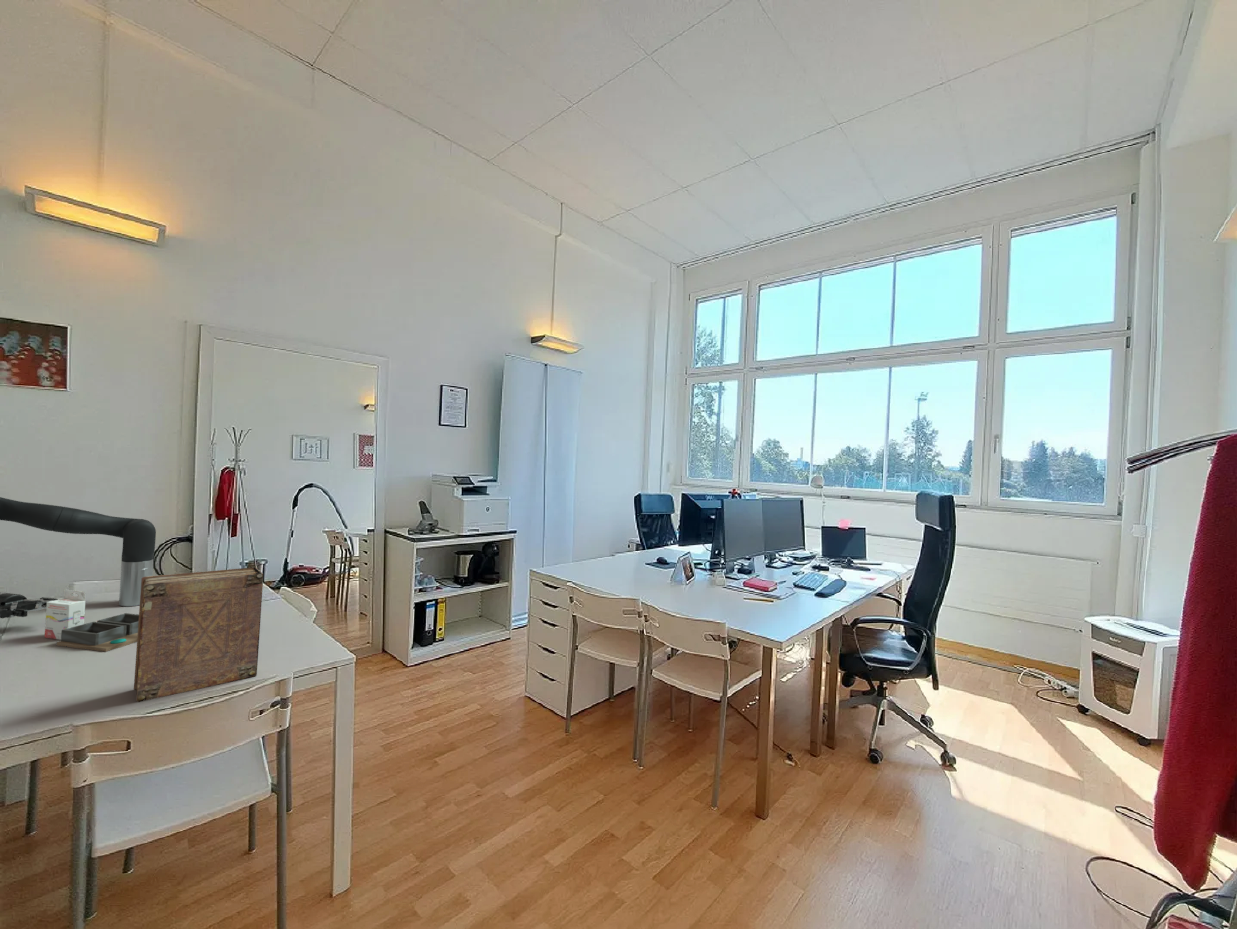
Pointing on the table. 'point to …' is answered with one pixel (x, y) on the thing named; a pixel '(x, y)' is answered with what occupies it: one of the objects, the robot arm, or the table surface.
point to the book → (197, 630)
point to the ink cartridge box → (64, 613)
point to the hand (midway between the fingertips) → (43, 609)
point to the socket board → (102, 633)
